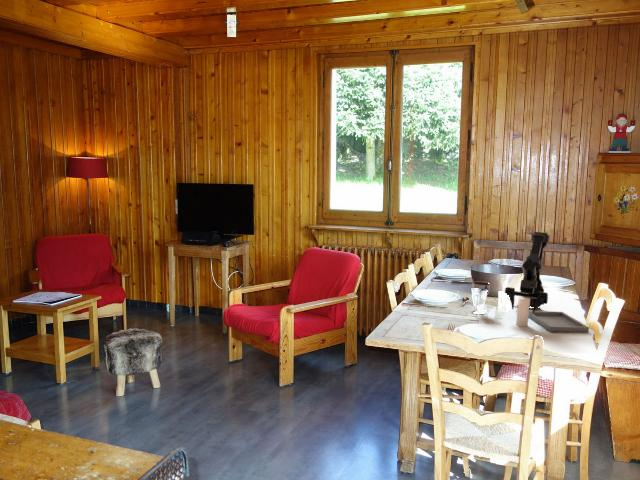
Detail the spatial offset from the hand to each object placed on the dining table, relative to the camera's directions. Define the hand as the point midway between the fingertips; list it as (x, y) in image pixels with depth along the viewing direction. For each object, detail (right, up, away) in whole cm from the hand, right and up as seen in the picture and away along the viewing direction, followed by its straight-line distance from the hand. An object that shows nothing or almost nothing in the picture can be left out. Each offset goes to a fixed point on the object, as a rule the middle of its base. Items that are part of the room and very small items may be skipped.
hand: (523, 310), depth 262 cm
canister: (0, -7, +2) cm, 7 cm away
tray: (+17, -7, +5) cm, 20 cm away
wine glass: (-15, -4, +20) cm, 25 cm away
